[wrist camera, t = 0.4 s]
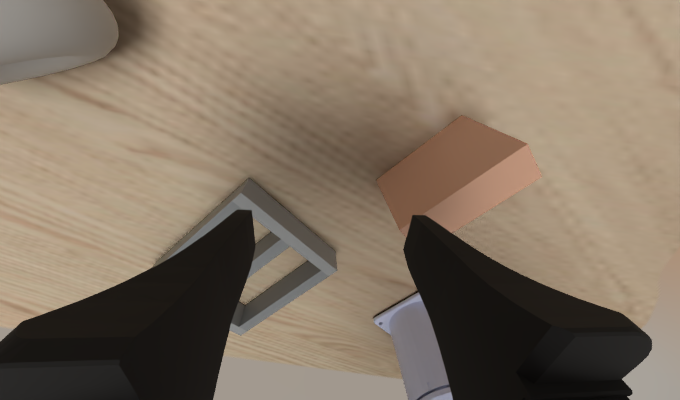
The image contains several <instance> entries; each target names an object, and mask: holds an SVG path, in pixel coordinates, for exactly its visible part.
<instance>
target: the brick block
mask: <svg viewBox="0 0 680 400" xmlns="http://www.w3.org/2000/svg"><path fill="white" fill-rule="evenodd" d="M541 177H542V175H541V172H540V170H539V168H538V166H537V164H536V161H535V159H534V157H533V155H532V152H531V150H530V148H529V146H528V144H527V143H525V142H522V141H520V140H518V139H515V138H513V137H511V136H508V135H506V134H504V133H502V132H499V131H497V130H495V129H492V128H490V127H488V126H485V125H483V124H481V123H479V122H476V121H474V120H472V119H469V118H467V117H465V116H462V115H461V116H460V117H459V118H457V119H456V120H455V121H453V122H452V123H451V124H449V125H448V126H447V127H445V128H444V129H443V130H442V131H440V132H439V133H438V134H436V135H435V136H434V137H432V138H431V139H430V140H428V141H427V142H426V143H424V144H423V145H422V146H420V147H419V148H418V149H416V150H415V151H414V152H412V153H411V154H410V155H408V156H407V157H406V158H404V159H403V160H402V161H401V162H399V163H398V164H397V165H395V166H394V167H393V168H391V169H390V170H389V171H387V172H386V173H385V174H383V175H382V176H381V177H379V178H378V179H377V180H376V181H377V183H378V185H379V187H380V189H381V191H382V193H383V196H384V198H385V200H386V202H387V204H388V206H389V208H390V211H391V213H392V215H393V217H394V219H395V221H396V223H397V226H398V228H399V230H400V231H401V232H402V233H403V234H404V235H405V236H406V238H407V234H408V230H409V226H410V223H411V219H412V215H426V216H427V217H429V218H431V219H432V220H434V221H435V222H437V223H438V224H440V225H441V226H442V227H444V228H445V229H447V230H448V231H449V232H451V233H453V232H455V231H456V230H458V229H460V228H461V227H463V226H464V225H466V224H468V223H469V222H471V221H472V220H474V219H476V218H477V217H479V216H480V215H482V214H484V213H485V212H487V211H488V210H490V209H492V208H493V207H495V206H496V205H498V204H500V203H501V202H503V201H504V200H506V199H508V198H509V197H511V196H512V195H514V194H516V193H517V192H519V191H520V190H522V189H524V188H525V187H527V186H528V185H530V184H532V183H533V182H535V181H536V180H538V179H540V178H541Z"/></svg>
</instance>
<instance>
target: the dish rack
mask: <svg viewBox="0 0 680 400" xmlns="http://www.w3.org/2000/svg"><path fill="white" fill-rule="evenodd" d="M237 209H239V210H252V217H253V218H254V219H256V220H257V221H258V222H259V223H261V224H262V225H263V226H265V227H266V228H267V229H268V230H270V231H271V232H270V233H269V234H268V235H267V236H265V237H264V238H263V239H262V240H260V241H259V242H258V243H257V244H255V252H254V257H253V261H252V265H251V269H250V272H249V275H248V277H247V278H249V277H250V276H251V275H253V274H254V273H255V272H257V271H258V270H259V269H261V268H262V267H263V266H265V265H266V264H267V263H268V262H270V261H271V260H272V259H274V258H275V257H276V256H278V255H279V254H280V253H282V252H283V251H284V250H286V249H287V248H288V247H292V248H293V249H294V250H295V251H297V252H298V253H299V254H301V255H302V256H303V257H305V258H306V259H307V260H308V261H307V262H305V263H304V264H303V265H301V266H300V267H298V268H297V269H296V270H294V271H293V272H291V273H290V274H289V275H287V276H286V277H284V278H283V279H282V280H280V281H279V282H277V283H276V284H275V285H273V286H272V287H270V288H269V289H268V290H266V291H265V292H263V293H262V294H261V295H259V296H258V297H256V298H255V299H254V300H252V301H251V302H249V303H248V304H247V305H243V304H241V303H240V302H238V305H237V307H236V310H235V313H234V316H233V319H232V322H231V325H230V329H229V330H230V331H232V332H234V333H236V334H238V335H240V336H241V335H242V334H244V333H245V332H247V331H248V330H250V329H251V328H253V327H254V326H256V325H257V324H259V323H260V322H262V321H263V320H264V319H266V318H267V317H269V316H270V315H272V314H273V313H275V312H276V311H278V310H279V309H281V308H282V307H284V306H285V305H287V304H288V303H290V302H291V301H293V300H294V299H296V298H297V297H299V296H300V295H302V294H303V293H305V292H306V291H308V290H309V289H311V288H312V287H314V286H315V285H317V284H318V283H320V282H321V281H323V280H324V279H326V278H327V277H328V276H330V275H331V274H333V273H334V272H336V271H337V263H336V252H335V251H334V250H333V249H332V248H331V247H329V246H328V245H327V244H326V243H325V242H324V241H322V240H321V239H320V238H319V237H318V236H317V235H315V234H314V233H313V232H312V231H311V230H310V229H308V228H307V227H306V226H305V225H304V224H302V223H301V222H300V221H299V220H298V219H297V218H295V217H294V216H293V215H292V214H291V213H290V212H288V211H287V210H286V209H285V208H284V207H283V206H281V205H280V204H279V203H278V202H277V201H276V200H274V199H273V198H272V197H271V196H270V195H269V194H267V193H266V192H265V191H264V190H263V189H262V188H260V187H259V186H258V185H257V184H256V183H254V182H253V181H252V180H251V179H250V178H248V179H247V180H246V181H245V182H244V183H243V184H242V185H241V186H239V187H238V188H237V189H236V190H235V191H234V192H233V193H232V194H231V195H230V196H228V197H227V198H226V199H225V200H224V201H223V202H222V203H221V204H220V205H219V206H217V207H216V208H215V209H214V210H213V211H212V212H211V213H210V214H209V215H208V216H207V217H205V218H204V219H203V220H202V221H201V222H200V223H199V224H198V225H197V226H196V227H194V228H193V229H192V230H191V231H190V232H189V233H188V234H187V235H186V236H185V237H183V238H182V239H181V240H180V241H179V242H178V243H177V244H176V245H175V246H174V247H172V248H171V249H170V250H169V251H168V252H167V253H166V254H165V255H164V256H163V257H161V258H160V259H159V260H158V261H157V262H156V263H155V264H154V266H153V267H155V266H157V265H159V264H160V263H162V262H164V261H165V260H167V259H169V258H171V257H172V256H174V255H176V254H177V253H179V252H180V251H182V250H184V249H185V248H187V247H188V246H189V245H191V244H192V243H194V242H195V241H197V240H198V239H199V238H201V237H202V236H204V235H205V234H206V233H208V232H209V231H210V230H212V229H213V228H214V227H216V226H217V225H218V224H219V223H221V222H222V221H223V220H224V219H226V218H227V217H228V216H229V215H231V214H232V213H233V212H234V211H236V210H237ZM153 267H152V268H153Z"/></svg>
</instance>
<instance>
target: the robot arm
mask: <svg viewBox="0 0 680 400" xmlns="http://www.w3.org/2000/svg"><path fill="white" fill-rule="evenodd" d="M403 250H404V254H405V258H406V261H407V265H408V268H409V271H410V273H411V276H412V278H413V280H414V283H415V285H416V287H417V290H418V293H416V294H414V295H413V296H411V297H409V298H407V299H406V300H404V301H402V302H400V303H399V304H397V305H395V306H394V307H392V308H390V309H388V310H387V311H385V312H383V313H381V314H380V315H378V316H376V317H375V318H374V323H375V324H376V325H378V326H379V327H380V328H382V329H383V330H384V331H386V332H387V333H388V334H390V335H391V336H392V340H393V344H394V347H395V351H396V355H397V359H398V362H399V366H400V370H401V374H402V378H403V381H404V385H405V389H406V393H407V396H408V400H629V398H628V397H627V396H630V395H632V390H631V389H630V388H629V387H628V386H627V385H626V383H625V382H624V381H623V380H622V378H623V377H625V376H626V375H627V374H628V373H629V372H630V371H631V370H633V369H634V368H635V367H636V366H637V365H639V364H640V363H641V362H642V361H643V360H644V359H645V358H646V357H647V356H648V355H649V353H650V351H651V349H652V340H651V339H650V337H649V336H648V335H647V334H646V333H645V332H643V331H642V330H641V329H640V328H639V327H638V326H637V325H635V324H634V323H633V322H632V321H631V320H630V319H628V318H627V317H626V316H624V315H623V314H621V313H619V312H616V311H613V310H610V309H607V308H604V307H601V306H598V305H595V304H592V303H589V302H587V301H584V300H581V299H578V298H575V297H573V296H570V295H568V294H565V293H562V292H560V291H557V290H555V289H552V288H550V287H548V286H545V285H543V284H541V283H538V282H536V281H534V280H532V279H530V278H528V277H525V276H523V275H521V274H519V273H517V272H515V271H513V270H511V269H509V268H507V267H505V266H503V265H502V264H500V263H498V262H496V261H494V260H492V259H491V258H489V257H487V256H486V255H484V254H482V253H481V252H479V251H478V250H476V249H474V248H473V247H471V246H470V245H468V244H467V243H465V242H464V241H462V240H461V239H459V238H458V237H457V236H455V235H454V234H452V233H451V232H449V231H448V230H447V229H445V228H444V227H442V226H441V225H440V224H438V223H437V222H435V221H434V220H432V219H431V218H429V217H427V216H426V215H412V219H411V223H410V226H409V230H408V234H407V238H406V241H405V245H404V249H403ZM254 252H255V237H254V227H253V217H252V210H239V209H237V210H236V211H234V212H233V213H232V214H231V215H229V216H228V217H227V218H226V219H224V220H223V221H222V222H221V223H219V224H218V225H217V226H216V227H214V228H213V229H212V230H210V231H209V232H208V233H206V234H205V235H204V236H202V237H201V238H199V239H198V240H197V241H195V242H194V243H192V244H191V245H189V246H188V247H187V248H185V249H184V250H182V251H180V252H179V253H177V254H176V255H174V256H172V257H171V258H169V259H167V260H165V261H164V262H162V263H160V264H159V265H157V266H155V267H153V268H151V269H149V270H147V271H145V272H143V273H141V274H139V275H137V276H135V277H133V278H131V279H129V280H127V281H125V282H123V283H121V284H118V285H116V286H114V287H112V288H109V289H107V290H105V291H102V292H100V293H98V294H95V295H93V296H90V297H88V298H86V299H83V300H80V301H78V302H75V303H73V304H70V305H67V306H64V307H62V308H59V309H56V310H53V311H51V312H48V313H45V314H42V315H40V316H37V317H34V318H31V319H28V320H25V321H23V322H21V323H20V324H19V325H18V326H17V327H16V328H15V329H14V330H13V331H12V332H10V333H9V334H8V335H7V336H6V337H5V338H4V339H3V340H2V341H1V342H0V400H213V397H214V392H215V388H216V383H217V379H218V374H219V370H220V366H221V362H222V357H223V353H224V349H225V345H226V341H227V337H228V333H229V329H230V325H231V322H232V319H233V316H234V313H235V310H236V307H237V305H238V302H239V299H240V297H241V294H242V291H243V288H244V286H245V283H246V280H247V277H248V275H249V272H250V269H251V265H252V261H253V257H254Z"/></svg>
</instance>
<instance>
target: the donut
mask: <svg viewBox="0 0 680 400" xmlns="http://www.w3.org/2000/svg"><path fill="white" fill-rule="evenodd" d="M118 38H119V33H118V24H117V22H116V20H115V17H114V15H113V13H112V11H111V10H110V9H109V7H108V6H107V5H106V3H105V2H104V1H103V0H0V85H1V84H6V83H11V82H16V81H21V80H26V79H31V78H36V77H40V76H45V75H49V74H53V73H57V72H61V71H65V70H69V69H73V68H76V67H79V66H82V65H85V64H88V63H91V62H94V61H96V60H99V59H101V58H103V57H105V56H106V55H107V54H108V53H109V52H110V51H111V50H112V49H113V48H114V47H115V46H116V43H117V41H118Z"/></svg>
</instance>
